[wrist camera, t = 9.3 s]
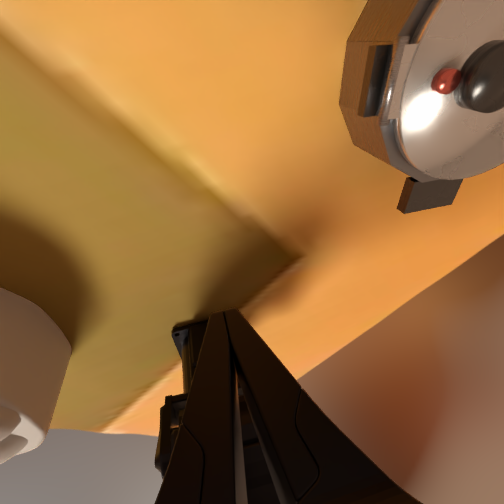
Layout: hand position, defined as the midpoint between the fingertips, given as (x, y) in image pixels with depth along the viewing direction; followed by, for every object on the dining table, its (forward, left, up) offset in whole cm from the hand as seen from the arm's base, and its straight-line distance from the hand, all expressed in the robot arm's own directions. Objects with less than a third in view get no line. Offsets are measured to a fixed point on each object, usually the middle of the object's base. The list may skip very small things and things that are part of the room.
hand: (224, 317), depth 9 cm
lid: (+5, -16, -7) cm, 18 cm away
